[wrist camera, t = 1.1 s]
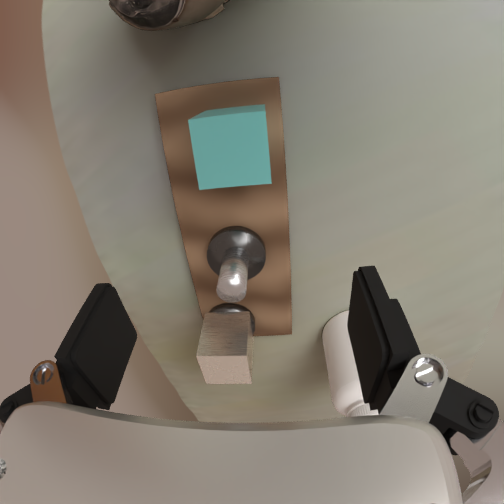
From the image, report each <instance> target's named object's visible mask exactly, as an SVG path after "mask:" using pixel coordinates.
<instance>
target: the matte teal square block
mask: <svg viewBox="0 0 504 504" xmlns="http://www.w3.org/2000/svg"><path fill="white" fill-rule="evenodd" d="M188 123H189V129H190V136H191V142H192V149H193V155H194V161H195V167H196V173H197V179H198V185H199V190H204V189H214V188H224V187H235V186H247V185H260V184H272V182H271V169H270V157H269V145H268V134H267V122H266V111H265V104H262V105H250V106H240V107H230V108H222V109H214V110H207V111H204V112H202V113H200V114H198V115H196V116H194V117H193V118H191V119H189V120H188Z"/></svg>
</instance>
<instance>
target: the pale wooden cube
mask: <svg viewBox="0 0 504 504" xmlns="http://www.w3.org/2000/svg"><path fill="white" fill-rule="evenodd" d="M254 331H255V317H254V315H253V313H252V312H251V311H250V310H249V309H247V308H246V307H244V306H242V305H239V304H236V303H222V304H219V305H216V306H215V307H213V308H212V309H211V310H210V311H209V313H205V317H204V321H203V326H202V330H201V335H200V340H199V345H198V349H197V354H196V357H197V360H198V363H199V365H200V368H201V371H202V373H203V376H204V379H205V381H206V384H252V366H253V342H254V341H253V334H254Z"/></svg>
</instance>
